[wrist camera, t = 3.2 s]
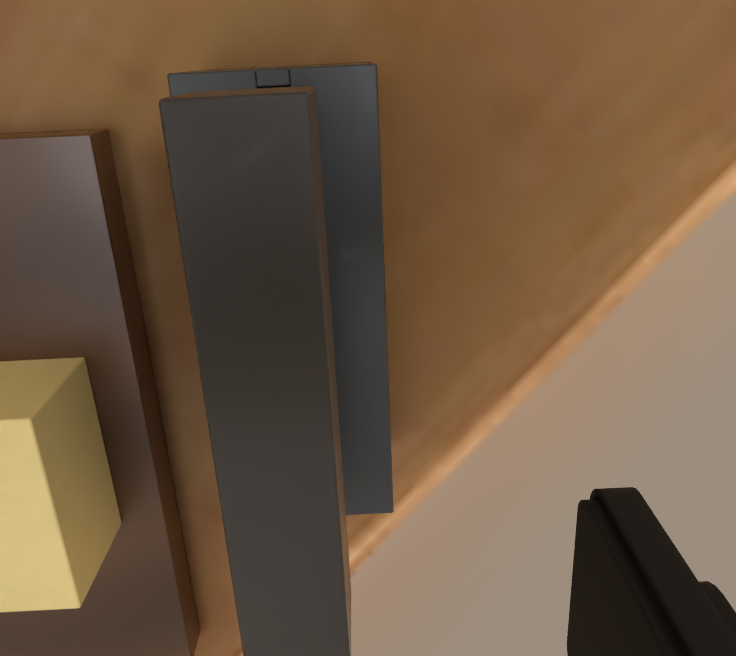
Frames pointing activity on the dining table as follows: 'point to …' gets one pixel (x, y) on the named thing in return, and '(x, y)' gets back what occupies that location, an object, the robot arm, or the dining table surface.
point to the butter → (51, 486)
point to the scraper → (266, 356)
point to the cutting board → (93, 390)
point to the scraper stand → (344, 256)
